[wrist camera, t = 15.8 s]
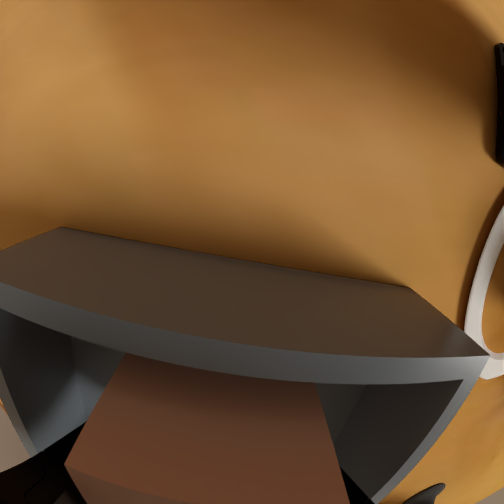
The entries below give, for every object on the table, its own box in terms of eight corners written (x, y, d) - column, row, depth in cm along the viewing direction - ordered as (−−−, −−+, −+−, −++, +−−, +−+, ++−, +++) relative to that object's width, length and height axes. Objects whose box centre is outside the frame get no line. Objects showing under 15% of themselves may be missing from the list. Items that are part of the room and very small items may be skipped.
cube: (307, 358, 8) (349, 504, 3) (270, 453, 10) (279, 561, 5) (139, 330, 8) (63, 464, 3) (144, 433, 9) (112, 538, 4)
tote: (410, 287, 10) (490, 355, 5) (292, 506, 15) (299, 561, 10) (61, 226, 9) (-36, 266, 4) (103, 477, 14) (84, 529, 9)
